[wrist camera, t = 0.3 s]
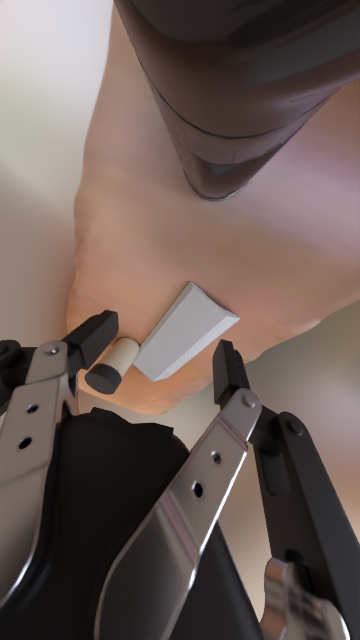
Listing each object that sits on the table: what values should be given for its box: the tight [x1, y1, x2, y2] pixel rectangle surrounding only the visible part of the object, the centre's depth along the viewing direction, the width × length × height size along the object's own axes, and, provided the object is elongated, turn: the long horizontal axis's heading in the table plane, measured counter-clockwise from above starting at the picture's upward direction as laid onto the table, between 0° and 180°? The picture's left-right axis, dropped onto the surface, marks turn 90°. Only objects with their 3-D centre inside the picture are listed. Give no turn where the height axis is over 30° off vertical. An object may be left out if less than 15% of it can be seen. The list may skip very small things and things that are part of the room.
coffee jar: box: [97, 337, 140, 378], centre depth 34 cm, size 6×6×11 cm
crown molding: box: [133, 281, 240, 381], centre depth 34 cm, size 29×12×4 cm, turn 146°
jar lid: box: [85, 364, 122, 395], centre depth 30 cm, size 7×7×2 cm
